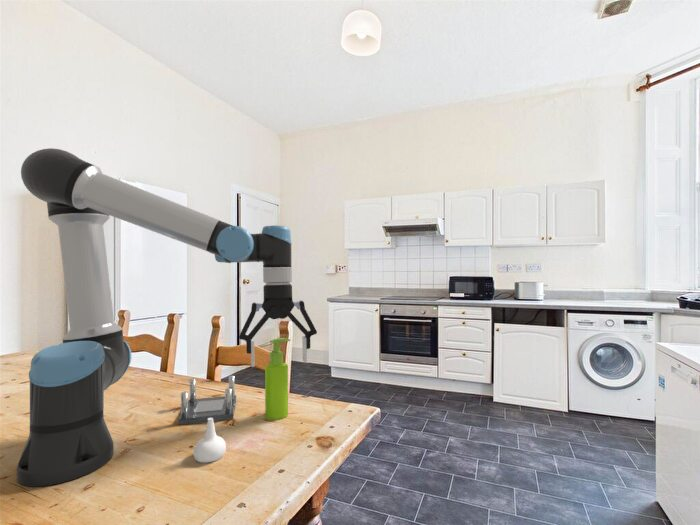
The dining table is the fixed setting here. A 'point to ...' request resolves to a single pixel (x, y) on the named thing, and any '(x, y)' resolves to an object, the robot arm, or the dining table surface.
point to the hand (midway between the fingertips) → (279, 363)
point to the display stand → (207, 405)
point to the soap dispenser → (276, 383)
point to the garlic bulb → (209, 445)
